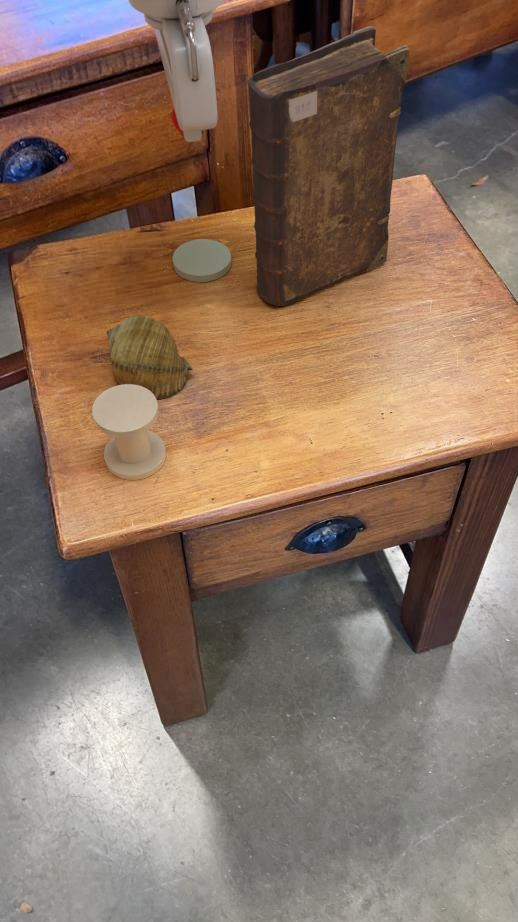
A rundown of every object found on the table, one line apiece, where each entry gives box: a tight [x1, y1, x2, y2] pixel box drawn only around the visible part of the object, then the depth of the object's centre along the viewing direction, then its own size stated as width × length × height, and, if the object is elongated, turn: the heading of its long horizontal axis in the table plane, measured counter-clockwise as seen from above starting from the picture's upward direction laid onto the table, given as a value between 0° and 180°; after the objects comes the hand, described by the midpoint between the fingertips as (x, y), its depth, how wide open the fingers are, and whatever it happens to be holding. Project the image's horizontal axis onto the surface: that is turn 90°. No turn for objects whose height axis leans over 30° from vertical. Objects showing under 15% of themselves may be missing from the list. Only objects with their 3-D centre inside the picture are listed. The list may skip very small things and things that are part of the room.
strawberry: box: [171, 107, 184, 138], centre depth 84 cm, size 3×3×4 cm
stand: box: [91, 384, 167, 481], centre depth 79 cm, size 6×6×7 cm
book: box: [247, 25, 410, 307], centre depth 88 cm, size 17×7×25 cm, turn 121°
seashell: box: [106, 315, 193, 400], centre depth 87 cm, size 10×7×8 cm
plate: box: [171, 238, 233, 283], centre depth 99 cm, size 7×7×1 cm
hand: (189, 126), depth 85 cm, fingers closed on strawberry, 3 cm apart
